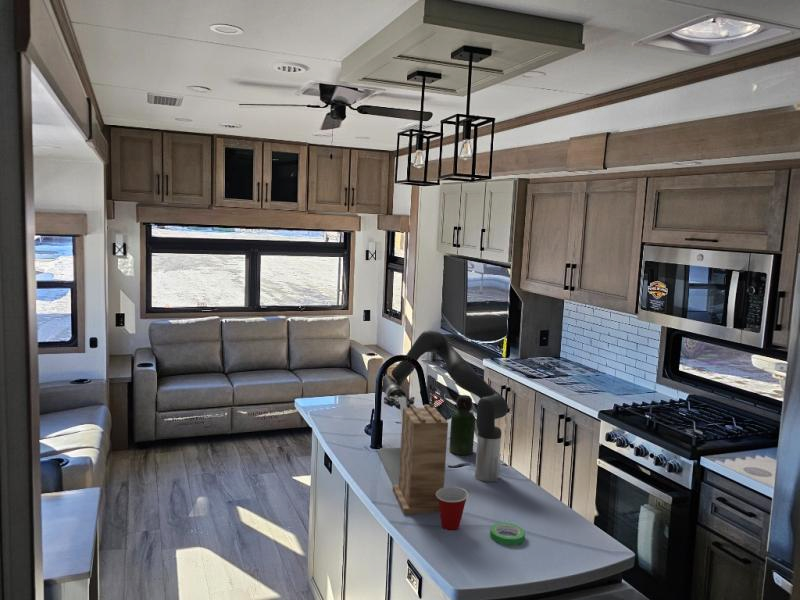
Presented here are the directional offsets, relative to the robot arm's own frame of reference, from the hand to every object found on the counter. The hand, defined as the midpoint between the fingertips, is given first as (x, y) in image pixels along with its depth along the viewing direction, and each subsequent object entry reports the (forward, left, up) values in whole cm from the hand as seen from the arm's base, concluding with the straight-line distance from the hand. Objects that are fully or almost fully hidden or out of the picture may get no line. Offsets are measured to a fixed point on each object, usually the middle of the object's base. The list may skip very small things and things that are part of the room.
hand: (403, 406), depth 269 cm
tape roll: (-51, +44, -25) cm, 72 cm away
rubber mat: (-1, +2, -25) cm, 25 cm away
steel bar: (-3, +5, -7) cm, 9 cm away
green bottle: (-19, -27, -25) cm, 42 cm away
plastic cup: (-32, +45, -25) cm, 60 cm away
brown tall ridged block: (-17, +30, -25) cm, 42 cm away
